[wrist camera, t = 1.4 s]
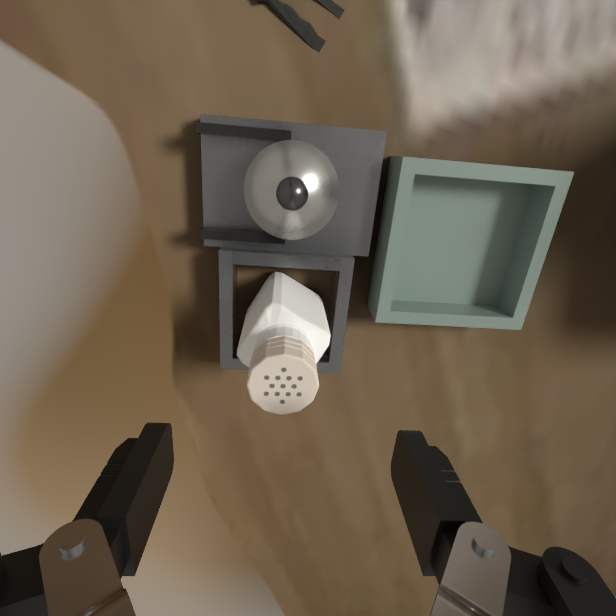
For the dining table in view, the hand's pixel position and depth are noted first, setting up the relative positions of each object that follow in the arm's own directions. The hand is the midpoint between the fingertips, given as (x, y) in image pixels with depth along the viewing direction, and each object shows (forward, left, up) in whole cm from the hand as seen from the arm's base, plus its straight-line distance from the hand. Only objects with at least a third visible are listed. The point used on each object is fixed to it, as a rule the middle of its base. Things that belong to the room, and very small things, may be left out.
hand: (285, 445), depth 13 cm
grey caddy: (-4, 0, -13) cm, 13 cm away
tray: (-5, +10, -13) cm, 17 cm away
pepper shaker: (0, 0, -13) cm, 13 cm away
